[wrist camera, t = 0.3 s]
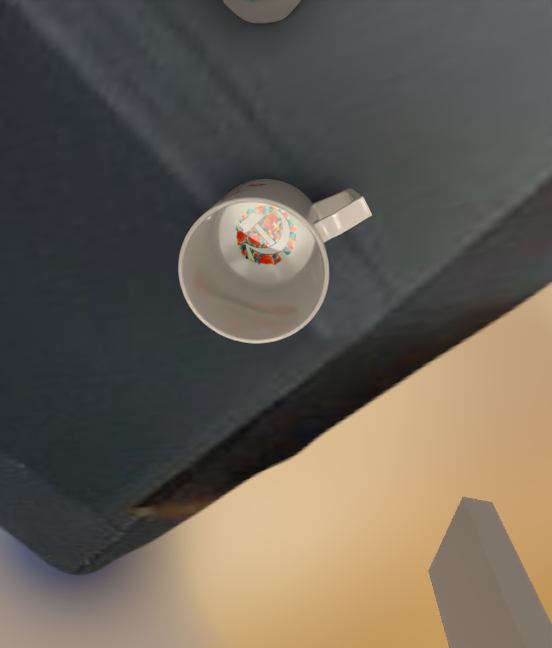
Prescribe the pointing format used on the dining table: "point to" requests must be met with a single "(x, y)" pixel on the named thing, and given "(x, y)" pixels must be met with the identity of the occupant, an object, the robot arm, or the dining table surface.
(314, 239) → the mug
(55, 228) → the dining table surface
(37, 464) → the dining table surface
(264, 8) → the bottle
